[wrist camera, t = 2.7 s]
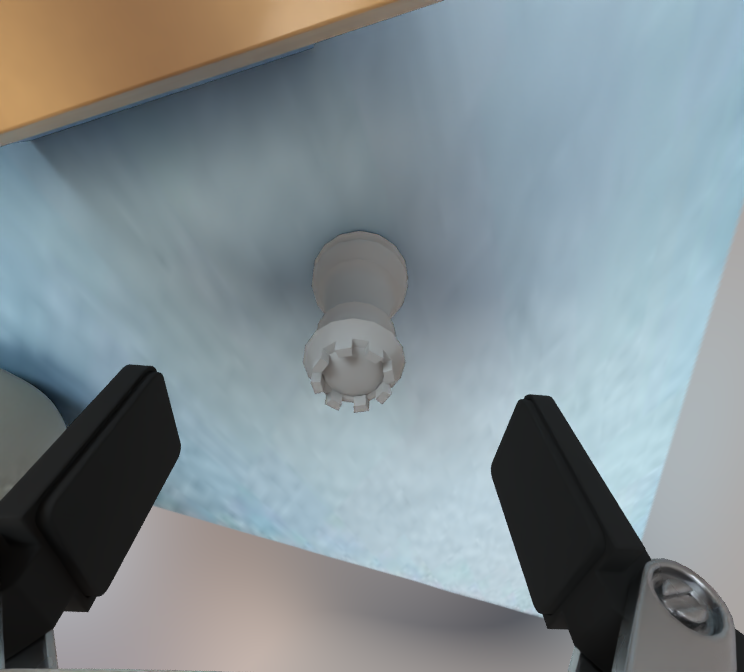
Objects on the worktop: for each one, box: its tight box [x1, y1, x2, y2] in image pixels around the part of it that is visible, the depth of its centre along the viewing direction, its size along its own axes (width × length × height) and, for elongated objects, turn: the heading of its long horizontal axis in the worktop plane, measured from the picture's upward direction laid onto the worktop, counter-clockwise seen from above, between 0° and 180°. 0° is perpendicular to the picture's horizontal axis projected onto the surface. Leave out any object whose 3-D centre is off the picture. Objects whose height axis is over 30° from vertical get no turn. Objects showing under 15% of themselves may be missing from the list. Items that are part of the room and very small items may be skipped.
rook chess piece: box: [303, 231, 408, 413], centre depth 14 cm, size 4×4×8 cm
